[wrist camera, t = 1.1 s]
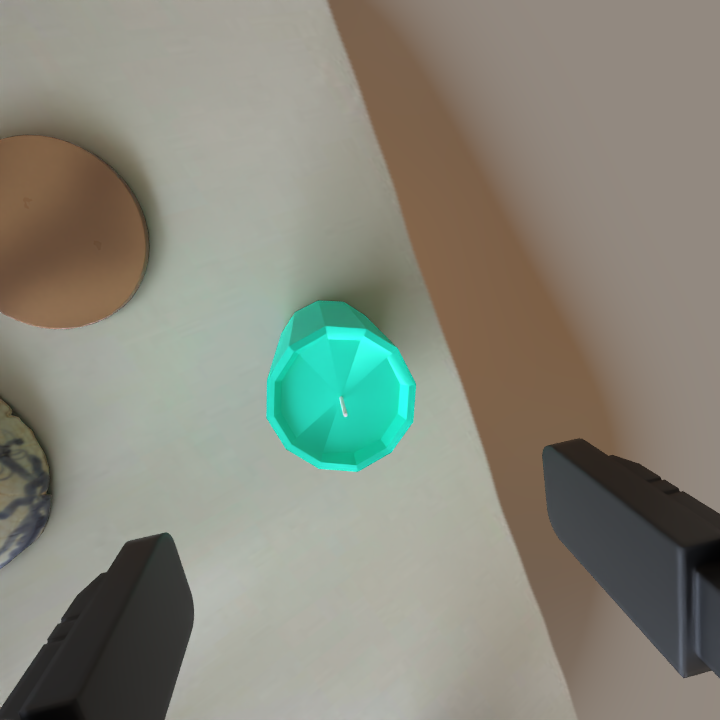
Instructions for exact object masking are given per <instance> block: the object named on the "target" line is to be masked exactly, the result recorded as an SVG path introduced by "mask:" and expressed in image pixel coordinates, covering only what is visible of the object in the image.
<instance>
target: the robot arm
mask: <svg viewBox="0 0 720 720" xmlns="http://www.w3.org/2000/svg"><path fill="white" fill-rule="evenodd" d="M542 458H543V469H544V480H545V491H546V501H547V510H548V516H549V519H550V522H551V525H552V527H553V529H554V531H555V533H556V535H557V536H558V538H559V539H560V540H561V542H562V543H563V544H564V545H565V546H566V547H567V548H568V550H569V551H570V552H571V553H572V554H573V555H574V556H575V557H576V559H577V560H578V561H579V562H580V563H581V564H582V565H583V566H584V567H585V569H586V570H587V571H588V572H589V573H590V574H591V575H592V576H593V578H594V579H595V580H596V581H597V582H598V583H599V584H600V585H601V587H602V588H603V589H604V590H605V591H606V592H607V593H608V594H609V595H610V597H611V598H612V599H613V600H614V601H615V602H616V603H617V604H618V606H619V607H620V608H621V609H622V610H623V611H624V612H625V613H626V614H627V616H628V617H629V618H630V619H631V620H632V621H633V622H634V623H635V625H636V626H637V627H638V628H639V629H640V630H641V631H642V632H643V634H644V635H645V636H646V637H647V638H648V639H649V640H650V641H651V643H652V644H653V645H654V646H655V647H656V648H657V649H658V650H659V651H660V653H661V654H662V655H663V656H664V657H665V658H666V659H667V660H668V662H670V664H671V665H672V666H673V667H674V668H675V669H676V670H677V672H678V673H679V674H680V675H681V676H682V677H683V678H687V677H690V676H694V675H698V674H701V673H705V672H708V671H713V672H714V673H715V674H716V675H717V676H718V677H719V678H720V514H719V513H717V512H716V511H714V510H713V509H711V508H709V507H708V506H706V505H705V504H703V503H701V502H699V501H698V500H697V499H695V498H693V497H692V496H690V495H689V494H687V493H685V492H683V491H682V492H680V491H679V489H678V488H677V487H676V486H674V485H672V484H671V483H669V482H668V481H666V480H661V478H660V476H658V475H656V474H655V473H653V472H652V471H650V470H648V469H647V468H645V467H644V466H642V465H640V464H638V463H635V462H632V461H629V460H626V459H623V458H620V457H617V456H614V455H610V456H608V455H606V454H605V453H603V452H602V451H600V450H599V449H597V448H596V447H594V446H593V445H591V444H590V443H588V442H587V441H585V440H583V439H574V440H570V441H565V442H561V443H557V444H553V445H548V446H546V447H544V449H543V454H542ZM193 621H194V605H193V598H192V594H191V591H190V588H189V585H188V582H187V579H186V576H185V573H184V570H183V567H182V564H181V561H180V558H179V555H178V552H177V549H176V546H175V543H174V540H173V538H172V537H171V535H170V534H169V533H161V534H157V535H152V536H148V537H143V538H139V539H135V540H130V541H128V542H126V543H125V545H124V546H123V547H122V549H121V551H120V552H119V554H118V555H117V557H116V559H115V560H114V562H113V563H112V565H111V566H110V568H109V570H108V571H107V572H105V573H101V574H100V575H99V576H98V577H97V578H96V579H95V580H93V581H92V582H91V583H90V584H89V585H88V586H87V587H86V588H85V589H84V590H83V591H81V592H80V593H79V594H78V595H77V596H76V598H75V599H74V601H73V602H72V604H71V605H70V607H69V608H68V610H67V611H66V613H65V614H64V616H63V617H62V619H61V623H59V624H57V626H56V627H55V629H54V630H53V632H52V633H51V635H50V636H49V638H48V639H47V640H48V643H47V644H45V645H43V647H42V648H41V650H40V651H39V653H38V654H37V655H36V657H35V658H34V660H33V661H32V663H31V664H30V666H29V667H28V669H27V670H26V672H25V673H24V675H23V676H22V678H21V679H20V681H19V682H18V684H17V685H16V687H15V688H14V690H13V691H12V692H11V694H10V695H9V697H8V698H7V700H6V701H5V703H4V704H3V706H2V707H1V709H0V720H165V716H166V713H167V710H168V707H169V703H170V700H171V697H172V694H173V690H174V687H175V684H176V681H177V677H178V674H179V671H180V667H181V664H182V661H183V658H184V654H185V651H186V648H187V645H188V641H189V638H190V635H191V632H192V628H193Z"/></svg>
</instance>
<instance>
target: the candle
mask: <svg viewBox="0 0 720 720" xmlns="http://www.w3.org/2000/svg"><path fill="white" fill-rule="evenodd" d="M415 392H416V383H415V381H414V379H413V377H412V375H411V373H410V371H409V369H408V367H407V365H406V363H405V361H404V360H403V358H402V356H401V354H400V352H399V350H398V348H397V347H396V346H395V345H394V344H393V343H392V342H391V341H390V340H389V339H388V338H387V337H386V336H385V335H384V334H383V333H382V332H381V331H380V330H379V329H378V328H377V327H376V326H375V325H374V324H373V323H372V322H371V321H370V320H369V319H368V318H367V317H366V316H365V315H364V314H362V313H360V312H359V311H357V310H356V309H354V308H353V307H351V306H350V305H348V304H347V303H345V302H340V301H321V300H318V301H316V302H314V303H312V304H310V305H308V306H306V307H304V308H302V309H300V310H298V311H296V312H295V313H294V315H293V316H292V318H291V319H290V321H289V322H288V324H287V326H286V327H285V329H284V330H283V332H282V334H281V337H280V340H279V343H278V346H277V349H276V353H275V356H274V359H273V362H272V366H271V369H270V372H269V375H268V378H267V420H268V421H269V423H270V424H271V426H272V428H273V429H274V431H275V432H276V434H277V435H278V437H279V439H280V440H281V442H282V443H283V445H284V447H285V448H286V449H287V450H289V451H290V452H292V453H294V454H295V455H297V456H299V457H300V458H302V459H304V460H305V461H307V462H309V463H310V464H312V465H314V466H315V467H317V468H319V469H329V470H341V471H354V472H358V471H360V470H362V469H364V468H365V467H367V466H369V465H370V464H372V463H374V462H376V461H377V460H379V459H381V458H383V457H384V456H386V455H388V454H390V453H391V452H392V451H393V449H394V448H395V447H396V445H397V444H398V442H399V441H400V440H401V438H402V437H403V436H404V434H405V433H406V431H407V430H408V429H409V427H410V426H411V424H412V423H413V418H414V405H415Z"/></svg>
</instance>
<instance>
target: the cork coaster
mask: <svg viewBox="0 0 720 720" xmlns="http://www.w3.org/2000/svg"><path fill="white" fill-rule="evenodd" d="M148 257H149V237H148V230H147V225H146V221H145V218H144V215H143V212H142V209H141V207H140V205H139V203H138V201H137V199H136V197H135V195H134V194H133V192H132V191H131V189H130V188H129V186H128V185H127V184H126V182H125V181H124V180H123V179H122V178H121V177H120V175H119V174H118V173H117V172H116V171H115V170H113V169H112V168H111V167H110V166H109V165H108V164H107V163H105V162H104V161H103V160H101V159H100V158H99V157H97V156H96V155H94V154H92V153H90V152H89V151H87V150H85V149H83V148H81V147H79V146H76V145H74V144H72V143H70V142H67V141H64V140H60V139H57V138H53V137H47V136H41V135H19V136H11V137H7V138H3V139H0V312H1V313H3V314H4V315H6V316H9V317H11V318H13V319H15V320H17V321H20V322H23V323H25V324H28V325H32V326H36V327H41V328H49V329H72V328H79V327H83V326H87V325H90V324H94V323H96V322H99V321H101V320H104V319H106V318H107V317H109V316H111V315H113V314H114V313H116V312H117V311H118V310H120V309H121V308H122V307H123V306H124V305H125V304H126V303H127V302H128V301H129V300H130V299H131V298H132V297H133V295H134V294H135V292H136V291H137V289H138V288H139V286H140V284H141V282H142V280H143V277H144V274H145V271H146V268H147V263H148Z"/></svg>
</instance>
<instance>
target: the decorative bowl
mask: <svg viewBox="0 0 720 720" xmlns="http://www.w3.org/2000/svg"><path fill="white" fill-rule="evenodd" d="M11 413H12V410H11V408H10V407H9V406H8V405H7V403H5V402H4V401H3V400H2V399H0V569H1V568H2V567H4V566H5V565H6V564H8V563H9V562H10V561H11V560H12V559H13V558H15V557H16V556H17V555H18V554H19V553H21V552H22V551H23V550H24V549H25V548H26V547H28V546H29V545H31V544H32V543H33V542H34V541H35V540H36V539H38V538H39V536H40V535H41V534H42V532H43V529H44V527H45V525H46V523H47V521H48V518H49V511H50V509H51V500H52V495H51V494H46V492H47V489H48V488H49V480H50V476H49V465H48V464H47V458H46V455H45V453H44V451H43V450H42V448H41V447H40V445H39V444H38V442H37V440H36V438H35V437H34V434H33V430H31V429H30V428H28V427H27V426H26V424H24V423H23V422H22V421H21V420H20V418H19V417H16V416H12V415H11Z"/></svg>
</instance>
